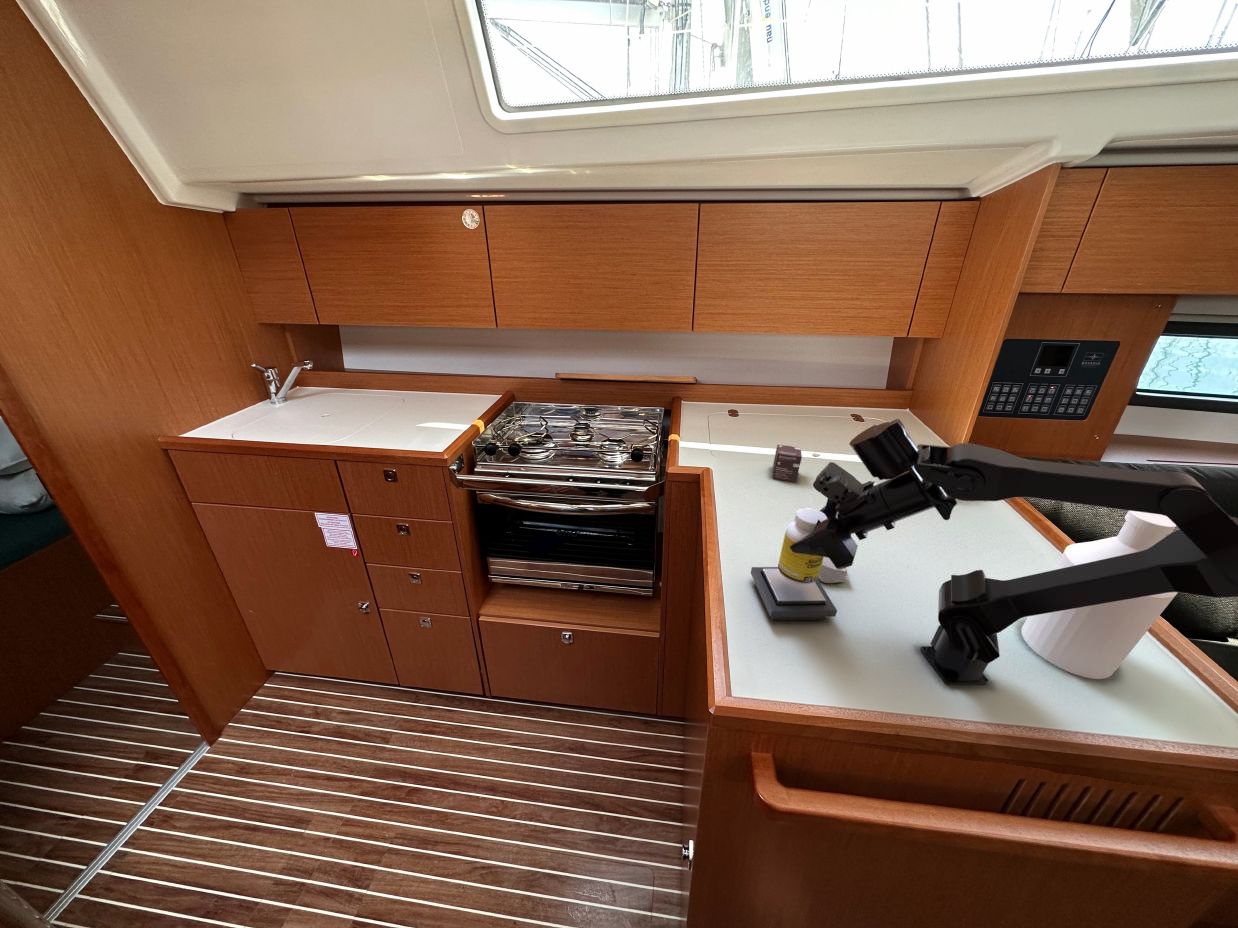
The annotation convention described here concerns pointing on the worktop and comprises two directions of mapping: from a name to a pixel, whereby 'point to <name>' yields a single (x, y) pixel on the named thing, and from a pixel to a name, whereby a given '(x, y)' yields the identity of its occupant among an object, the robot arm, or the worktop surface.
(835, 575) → the pale grey rock
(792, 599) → the pan
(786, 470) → the box
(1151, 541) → the bottle
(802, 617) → the scale
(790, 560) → the pill bottle
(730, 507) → the worktop surface
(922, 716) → the worktop surface
